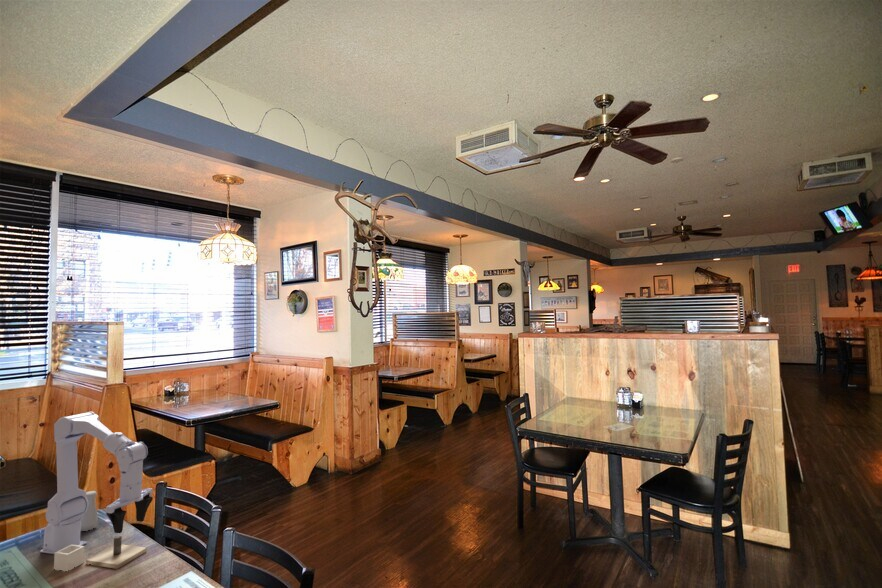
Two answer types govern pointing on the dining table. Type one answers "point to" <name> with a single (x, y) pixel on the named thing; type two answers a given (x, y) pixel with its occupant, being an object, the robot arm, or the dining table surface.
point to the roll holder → (116, 555)
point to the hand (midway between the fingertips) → (129, 526)
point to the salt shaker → (90, 513)
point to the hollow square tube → (69, 557)
